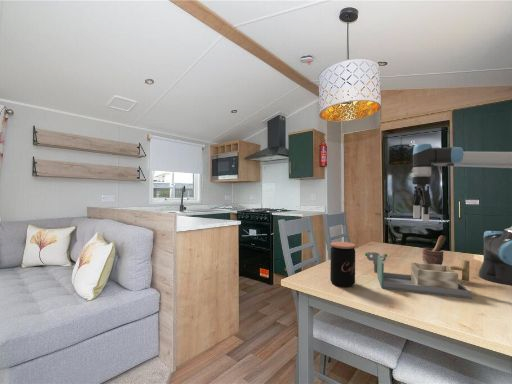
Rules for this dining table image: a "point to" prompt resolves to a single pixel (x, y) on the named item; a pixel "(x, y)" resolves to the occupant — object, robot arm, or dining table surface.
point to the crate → (438, 274)
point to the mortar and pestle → (434, 253)
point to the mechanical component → (375, 258)
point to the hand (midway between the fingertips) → (420, 219)
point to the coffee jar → (342, 264)
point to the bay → (406, 284)
